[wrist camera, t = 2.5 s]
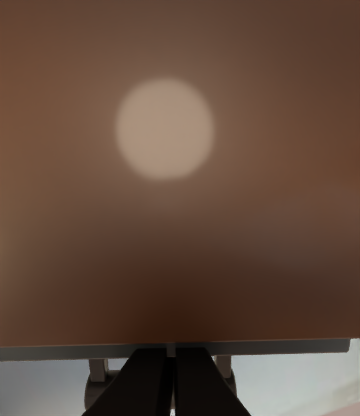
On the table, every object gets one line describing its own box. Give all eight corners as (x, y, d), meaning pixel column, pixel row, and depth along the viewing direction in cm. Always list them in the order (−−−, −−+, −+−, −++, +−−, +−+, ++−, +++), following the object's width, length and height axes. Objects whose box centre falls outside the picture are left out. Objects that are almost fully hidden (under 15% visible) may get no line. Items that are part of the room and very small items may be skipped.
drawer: (261, 335, 15) (328, 482, 9) (66, 340, 15) (-17, 495, 8) (288, -42, 11) (458, -311, 4) (18, -43, 11) (-223, -330, 4)
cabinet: (274, 227, 15) (405, 338, 6) (49, 231, 15) (-119, 352, 6) (298, -93, 11) (637, -727, 3) (6, -96, 11) (-483, -794, 3)
